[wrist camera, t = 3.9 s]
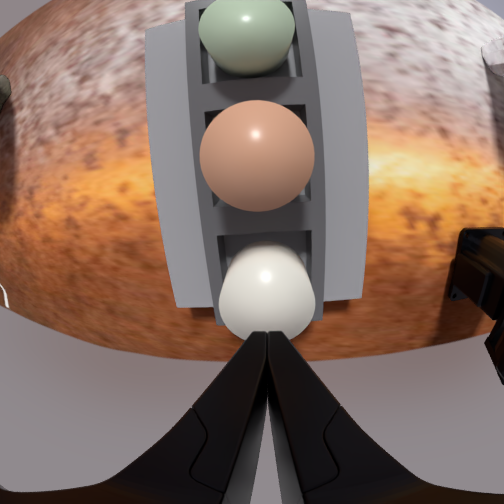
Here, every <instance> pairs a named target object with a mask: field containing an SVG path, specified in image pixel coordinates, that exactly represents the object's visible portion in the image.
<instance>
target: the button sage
mask: <svg viewBox="0 0 504 504" xmlns="http://www.w3.org/2000/svg"><path fill="white" fill-rule="evenodd" d="M198 30H199V36H200V39H201V41H202V43H203V44H204V46H205V48H206V49H207V51H208V53H209V54H210V56H211V58H212V59H213V61H214V62H215V64H216V65H217V66H218V67H219V68H220V69H221V70H222V71H224V72H225V73H227V74H229V75H231V76H235V77H238V78H246V79H252V78H259V77H263V76H266V75H269V74H271V73H273V72H274V71H276V70H277V69H278V68H279V67H281V66H282V64H283V63H284V62H285V60H286V58H287V56H288V53H289V50H290V46H291V42H292V38H293V34H294V30H295V21H294V17H293V15H292V13H291V11H290V10H289V8H288V7H287V6H286V5H285V4H284V3H283V2H282V1H280V0H216V1H214V2H213V3H212V4H211V5H209V6H208V7H207V9H206V10H205V11H204V13H203V14H202V16H201V18H200V21H199V28H198Z"/></svg>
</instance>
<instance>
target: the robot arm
mask: <svg viewBox="0 0 504 504" xmlns="http://www.w3.org/2000/svg"><path fill="white" fill-rule="evenodd" d="M466 233H467V234H466ZM465 234H466V236H465ZM448 297H449V299H450V300H451V301H455V300H460V299H465V298H469V299H470V300H471V301H472V302H473V303H474V304H475V305H476V306H477V307H480V308H481V309H482V310H483V311H484V312H485V313H486V314H487V315H488V316H489V317H490V318H491V319H492V320H496V323H495V325H494V327H493V329H492V331H491V333H490V335H489V337H487V339H486V341H485V342H484V344H485V346H486V348H487V350H488V353H489V354H490V357H491V359H492V362H493V364H494V366H495V369H496V370H497V374H498V376H499V378H500V380H501V383H502V384H503V385H504V228H503V227H478V228H464V229H462V231H461V234H460V241H459V247H458V253H457V258H456V263H455V268H454V273H453V277H452V282H451V286H450V290H449V294H448ZM267 398H268V407H269V415H270V422H271V428H272V435H273V442H274V450H275V457H276V464H277V471H278V478H279V484H280V491H281V498H282V504H504V494H492V493H481V492H471V491H465V490H458V489H452V488H447V487H442V486H437V485H434V484H431V483H428V482H426V481H424V480H422V479H420V478H418V477H416V476H415V475H414V474H413V473H411V472H410V471H408V470H407V469H406V468H405V467H404V466H403V465H401V464H400V463H399V462H398V461H397V460H396V459H394V458H393V457H392V456H391V455H390V454H388V453H387V452H386V451H385V450H384V449H383V448H382V447H380V446H379V445H378V444H377V443H376V442H375V441H374V440H373V439H372V438H371V437H369V436H368V435H367V434H366V433H365V432H364V431H363V430H362V429H361V428H360V426H359V425H357V423H356V422H355V421H354V420H353V419H352V418H351V416H350V415H349V414H348V413H347V412H346V410H345V409H344V408H343V407H342V406H340V403H339V402H338V401H337V399H336V398H335V397H334V396H333V394H332V393H331V392H330V391H329V390H328V389H327V387H326V386H325V385H324V383H323V382H322V381H321V380H320V378H319V377H318V376H317V375H316V373H315V372H314V371H313V370H312V368H311V367H310V366H309V365H308V363H307V362H306V361H305V359H304V358H303V357H302V356H301V354H300V353H299V352H298V350H297V349H296V348H295V347H294V345H293V344H292V343H291V342H290V340H289V339H288V338H287V336H286V335H285V334H284V333H283V331H281V330H277V331H268V333H267V332H266V331H253V332H251V334H250V335H249V336H248V338H247V339H246V340H245V341H244V343H243V344H242V345H241V347H240V348H239V349H238V350H237V352H236V353H235V354H234V355H233V357H232V358H231V359H230V360H229V362H228V363H227V364H226V366H225V367H224V368H223V369H222V371H221V372H220V373H219V374H218V375H217V377H216V378H215V379H214V380H213V382H212V383H211V384H210V385H209V386H208V388H207V389H206V390H205V391H204V392H203V393H202V395H201V396H200V397H199V398H198V400H197V401H196V402H195V403H194V404H193V405H192V408H190V409H189V410H188V411H187V412H186V413H185V414H184V416H183V417H182V418H181V419H180V420H179V421H178V422H177V423H176V424H175V426H174V427H172V429H171V430H170V431H169V432H167V433H166V434H165V435H164V436H163V437H162V438H161V439H160V440H159V441H157V442H156V443H155V444H154V445H153V446H152V447H150V448H149V449H148V450H147V451H146V452H144V453H143V454H142V455H141V456H139V457H138V458H137V459H136V460H134V461H133V462H132V463H131V464H129V465H128V466H127V467H125V468H124V469H123V470H121V471H120V472H119V473H117V474H116V475H114V476H113V477H111V478H109V479H107V480H105V481H103V482H100V483H98V484H94V485H90V486H84V487H78V488H71V489H63V490H54V491H41V492H12V491H8V490H7V489H5V488H4V487H3V486H1V485H0V504H250V501H251V496H252V490H253V485H254V480H255V475H256V469H257V464H258V458H259V452H260V447H261V441H262V434H263V428H264V422H265V416H266V409H267Z"/></svg>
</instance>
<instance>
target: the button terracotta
mask: <svg viewBox="0 0 504 504" xmlns="http://www.w3.org/2000/svg"><path fill="white" fill-rule="evenodd" d="M314 154H315V153H314V145H313V142H312V138H311V136H310V133H309V131H308V130H307V128H306V126H305V125H304V123H303V122H302V121H301V120H300V119H299V118H298V117H297V116H296V115H295V114H294V113H293V112H291V111H290V110H289V109H287V108H285V107H283V106H281V105H279V104H276V103H273V102H269V101H262V100H251V101H245V102H241V103H237V104H235V105H233V106H230V107H229V108H227V109H225V110H224V111H222V112H221V113H220V114H218V115H217V116H216V117H215V118H214V119H213V121H212V122H211V123H210V125H209V126H208V128H207V129H206V131H205V133H204V136H203V138H202V142H201V146H200V165H201V170H202V173H203V176H204V178H205V180H206V182H207V184H208V185H209V187H210V188H211V190H212V191H213V192H214V193H215V194H216V195H217V196H218V197H219V198H220V199H221V200H223V201H224V202H226V203H227V204H229V205H231V206H233V207H236V208H238V209H242V210H246V211H253V212H262V211H269V210H273V209H276V208H279V207H281V206H283V205H285V204H287V203H289V202H290V201H292V200H293V199H294V198H295V197H297V196H298V195H299V194H300V193H301V191H302V190H303V189H304V188H305V186H306V184H307V183H308V181H309V179H310V177H311V174H312V171H313V167H314Z"/></svg>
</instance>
